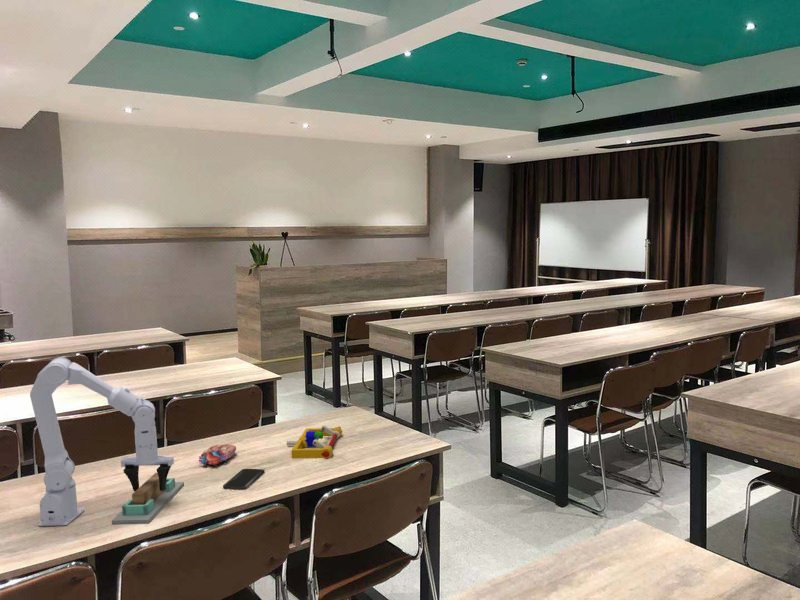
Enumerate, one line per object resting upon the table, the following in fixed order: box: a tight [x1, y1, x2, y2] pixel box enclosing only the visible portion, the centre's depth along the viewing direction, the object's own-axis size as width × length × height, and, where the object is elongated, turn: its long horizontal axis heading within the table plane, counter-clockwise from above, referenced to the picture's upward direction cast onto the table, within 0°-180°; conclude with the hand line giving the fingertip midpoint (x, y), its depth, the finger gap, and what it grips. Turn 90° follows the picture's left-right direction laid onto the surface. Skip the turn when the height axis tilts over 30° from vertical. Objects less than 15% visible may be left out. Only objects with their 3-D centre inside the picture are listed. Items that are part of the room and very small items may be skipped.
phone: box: [222, 468, 265, 491], centre depth 195 cm, size 8×1×15 cm
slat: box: [131, 472, 166, 505], centre depth 180 cm, size 16×3×5 cm, turn 179°
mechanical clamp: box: [286, 424, 343, 459], centre depth 227 cm, size 18×6×30 cm
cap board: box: [111, 477, 185, 525], centre depth 180 cm, size 26×10×4 cm, turn 179°
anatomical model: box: [198, 443, 237, 466], centre depth 213 cm, size 11×6×15 cm
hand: (149, 489), depth 180 cm, fingers open, 7 cm apart
